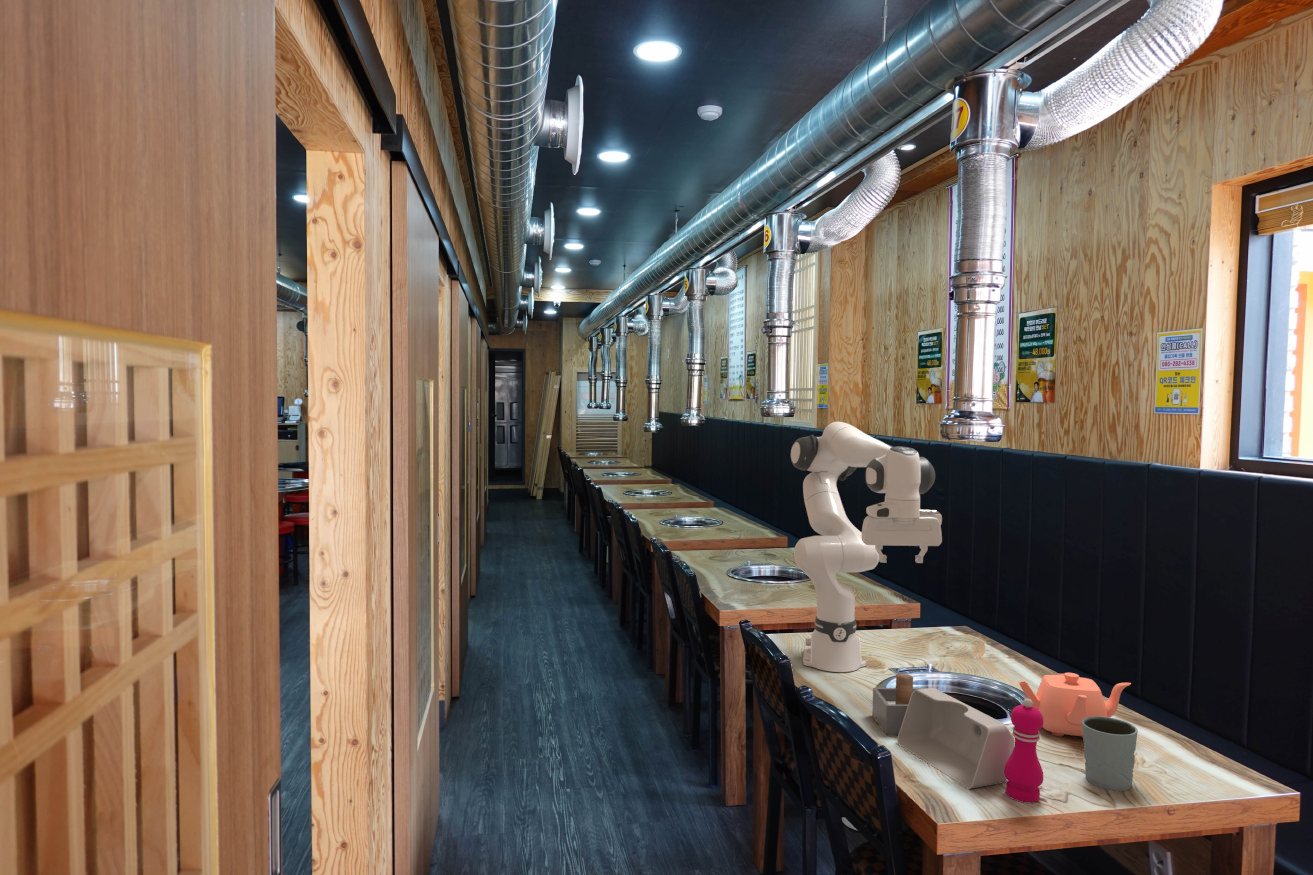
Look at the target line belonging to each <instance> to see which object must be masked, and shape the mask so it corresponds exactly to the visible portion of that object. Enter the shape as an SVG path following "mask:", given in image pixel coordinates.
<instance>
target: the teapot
mask: <svg viewBox="0 0 1313 875" xmlns="http://www.w3.org/2000/svg"><path fill="white" fill-rule="evenodd" d="M1039 683H1040V684H1039V686H1038V688H1037V692H1036V693H1035V691H1034V690H1033V689H1032V687H1031V686H1030V684H1028V682H1027V680H1020V681H1018V684H1019V685H1018V686H1020V688H1021V690H1022V692H1023V694H1024V695H1025V698H1026V699H1027V698H1028V699H1031V700H1032V702H1033V705H1032V706H1033V707H1035V708H1037V709H1038V710H1039V711H1040V712H1041V714H1042V716H1043V720H1044V723H1043V727H1042V728H1043V729H1044V730H1045V731H1048V732H1051V735H1052V736H1055V737H1064V735H1067V736H1068V735H1069V736H1074V737H1075V736H1077V737H1081V738H1082V739H1083V729H1082V720H1083V719H1084V718H1087V717H1093V716H1103V717H1110V718H1113V716H1114V715H1115V714H1116V712H1117V710H1118V707H1119V702H1120V698H1121V694H1122V692H1123V690H1124V689H1125V688H1127V687H1128V686H1130V685H1131V684H1132V683H1131V682H1120V683H1116V684H1115V685H1114V686H1113V688H1112V690H1111V693H1110V696H1109V698H1108V699H1107V700H1106V701H1105V700H1104V695H1103V693H1102V691H1101V689H1100V687H1099V686H1098V684H1097V683H1096V682H1095V681H1094V680H1093V679H1091V678H1088V677H1087V678H1086V677H1080V675H1079V674H1077V673H1073V672H1064V673H1057V674H1044V675H1043V676H1042V679H1041V681H1040V682H1039Z"/></svg>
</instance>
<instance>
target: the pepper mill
mask: <svg viewBox="0 0 1313 875" xmlns="http://www.w3.org/2000/svg"><path fill="white" fill-rule="evenodd" d="M1032 705H1033V702H1032V700H1031V699H1028V698H1027V697H1026V698H1025V699H1024V700H1023V701H1022V704H1019V705H1017V706H1015V707H1014V708H1013V709H1012V710H1011V713H1010V721H1011V722H1010V723H1012V725H1013V727H1012V733H1011V734H1012V735H1013V737H1014V749H1013V752H1012V754H1011V756H1010V757H1009V759H1008V760H1007V762H1006V764H1005V769H1004V774H1005V777H1006V778H1007V780H1006V782H1005V793H1006V795H1007V796H1008V797H1009V798H1011V799H1012V798H1013V800H1014V799H1015V801H1017V800H1018V801H1017V802H1020V801H1021V803H1024V802H1034V803H1037V802H1039V801H1040V796H1041V789H1040V788H1039V787H1040V786H1041V785H1043V783H1044V772H1043V768H1042V765H1041V763H1040V760H1039V756H1038V754H1037V744H1038V741H1039V742H1040V739H1041V737H1040V735H1041V732H1040V730H1041V729H1042V728H1043V723H1044V720H1043V716H1042V714H1041V712H1040V711H1039V710H1038V709H1037V708H1035V707H1033V706H1032ZM1036 801H1037V802H1036Z"/></svg>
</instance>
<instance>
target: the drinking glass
mask: <svg viewBox="0 0 1313 875" xmlns="http://www.w3.org/2000/svg"><path fill="white" fill-rule="evenodd" d="M1082 729H1083V738H1082V740H1083V744H1084V746H1083V751H1084V754H1083V755H1084V759H1085V762H1084V766H1085V767H1084V769H1085V771H1084V772H1085V779H1086V780H1087V781H1088V783H1090V784H1092V785H1094V786H1096V787H1099V788H1101V789H1105V790H1109V791H1119V792H1120V791H1123V792H1124V791H1127V790H1129V789H1132V787H1133V777H1134V774H1133V773H1134V766H1135V758H1136V757H1135V752H1136V748H1137V740H1138V728H1137V727H1136V726H1135V725H1134V724H1132V723H1130V722H1128V721H1127V720H1126V721H1125V720H1122V719H1119V718H1114V717H1103V716H1093V717H1087V718H1084V719H1083V720H1082Z"/></svg>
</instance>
